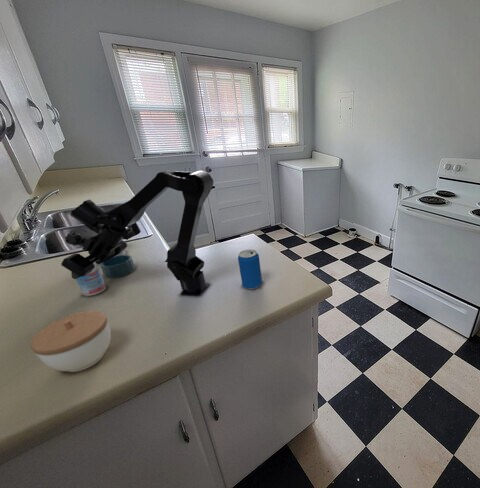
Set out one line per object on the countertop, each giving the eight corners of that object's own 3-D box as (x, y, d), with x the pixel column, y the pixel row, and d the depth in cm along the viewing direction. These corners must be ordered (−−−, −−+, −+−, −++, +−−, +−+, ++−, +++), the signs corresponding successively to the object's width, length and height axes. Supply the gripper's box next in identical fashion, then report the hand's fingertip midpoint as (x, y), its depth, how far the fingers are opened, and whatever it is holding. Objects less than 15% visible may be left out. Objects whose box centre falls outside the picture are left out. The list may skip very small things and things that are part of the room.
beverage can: (266, 282, 92) (262, 250, 87) (254, 292, 87) (249, 259, 82) (251, 278, 94) (246, 247, 90) (238, 287, 89) (232, 255, 84)
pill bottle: (93, 297, 85) (79, 266, 81) (78, 295, 86) (63, 264, 82) (111, 287, 91) (99, 257, 86) (96, 285, 92) (83, 255, 87)
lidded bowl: (43, 393, 55) (17, 353, 50) (53, 354, 64) (32, 317, 60) (119, 363, 61) (102, 325, 57) (118, 332, 71) (103, 297, 66)
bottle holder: (140, 265, 104) (137, 255, 103) (122, 278, 96) (117, 267, 94) (118, 264, 105) (114, 254, 103) (97, 277, 97) (93, 266, 95)
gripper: (106, 210, 87) (85, 242, 92) (53, 232, 70) (30, 269, 75) (137, 233, 90) (115, 262, 95) (94, 259, 73) (70, 293, 78)
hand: (85, 270), depth 85 cm, fingers open, 9 cm apart
